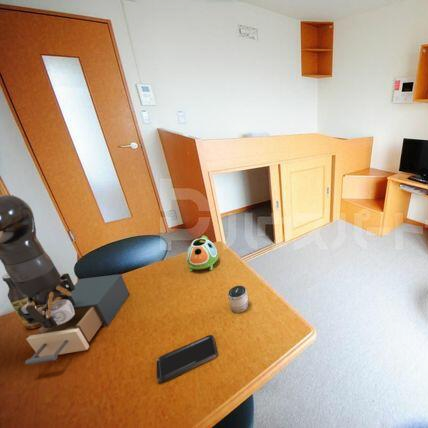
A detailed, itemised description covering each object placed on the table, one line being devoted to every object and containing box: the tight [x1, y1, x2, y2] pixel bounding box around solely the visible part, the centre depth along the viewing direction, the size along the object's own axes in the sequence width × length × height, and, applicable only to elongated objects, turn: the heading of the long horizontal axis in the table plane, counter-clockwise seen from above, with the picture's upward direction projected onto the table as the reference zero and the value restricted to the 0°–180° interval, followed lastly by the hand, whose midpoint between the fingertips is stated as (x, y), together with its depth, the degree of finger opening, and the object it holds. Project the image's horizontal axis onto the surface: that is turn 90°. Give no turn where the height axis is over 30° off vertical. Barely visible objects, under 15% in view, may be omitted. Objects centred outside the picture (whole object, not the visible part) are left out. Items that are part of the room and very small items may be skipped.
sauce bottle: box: [1, 272, 46, 330], centre depth 75 cm, size 6×6×20 cm
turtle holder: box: [185, 235, 219, 272], centre depth 108 cm, size 12×18×12 cm
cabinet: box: [71, 273, 130, 328], centre depth 81 cm, size 15×13×10 cm
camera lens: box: [227, 285, 249, 314], centre depth 85 cm, size 6×6×8 cm
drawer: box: [24, 306, 103, 366], centre depth 70 cm, size 19×11×8 cm, turn 13°
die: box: [42, 299, 75, 325], centre depth 68 cm, size 5×5×5 cm
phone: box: [156, 334, 219, 384], centre depth 68 cm, size 8×1×15 cm
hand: (61, 316), depth 69 cm, fingers closed on die, 6 cm apart
